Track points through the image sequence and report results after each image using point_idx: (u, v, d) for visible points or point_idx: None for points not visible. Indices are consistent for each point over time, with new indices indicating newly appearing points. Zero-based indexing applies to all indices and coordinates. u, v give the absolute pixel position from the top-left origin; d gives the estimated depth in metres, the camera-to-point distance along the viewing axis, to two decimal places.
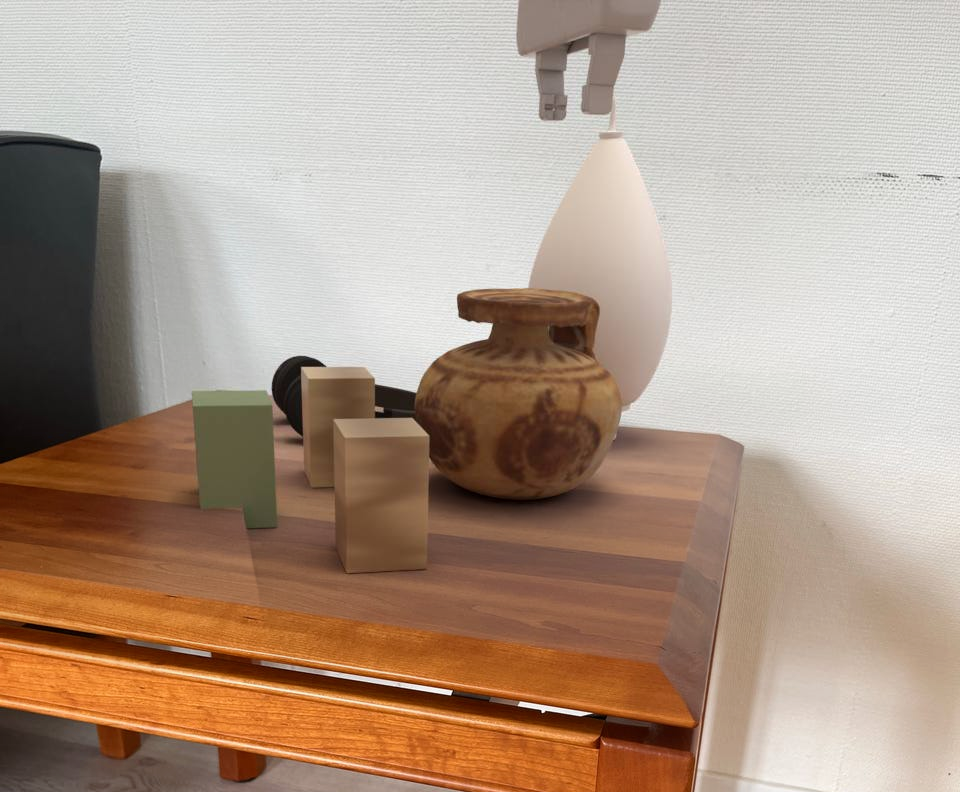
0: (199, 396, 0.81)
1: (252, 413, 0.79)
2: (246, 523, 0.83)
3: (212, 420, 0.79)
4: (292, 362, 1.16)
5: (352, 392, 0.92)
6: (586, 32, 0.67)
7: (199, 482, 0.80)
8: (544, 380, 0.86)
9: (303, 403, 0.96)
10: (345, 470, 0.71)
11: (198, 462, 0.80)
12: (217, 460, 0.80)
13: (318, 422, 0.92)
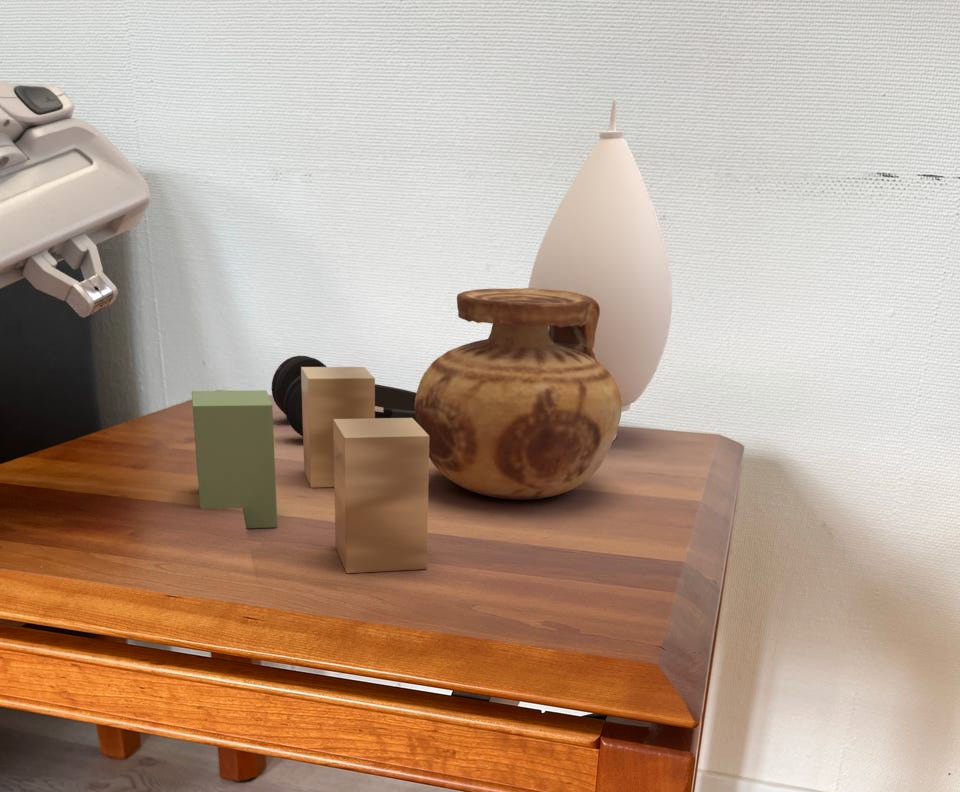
0: (199, 396, 0.81)
1: (252, 413, 0.79)
2: (246, 523, 0.83)
3: (212, 420, 0.79)
4: (292, 362, 1.16)
5: (352, 392, 0.92)
6: (119, 213, 0.75)
7: (199, 482, 0.80)
8: (544, 380, 0.86)
9: (303, 403, 0.96)
10: (345, 470, 0.71)
11: (198, 462, 0.80)
12: (217, 460, 0.80)
13: (318, 422, 0.92)
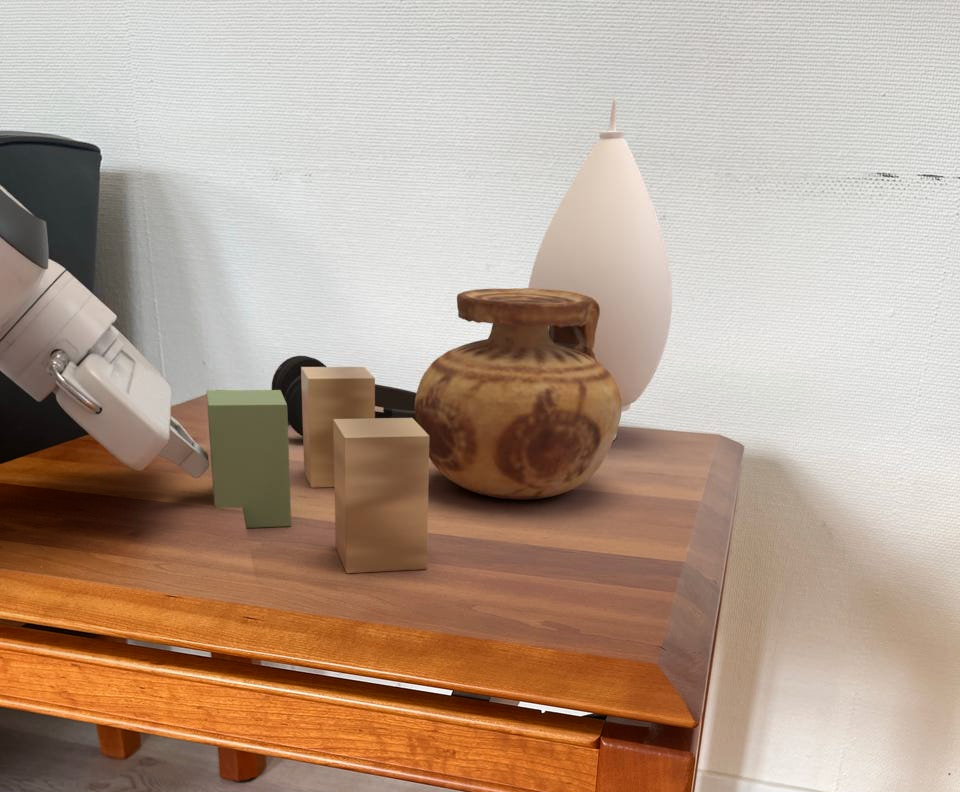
0: (214, 395, 0.82)
1: (267, 413, 0.80)
2: (260, 522, 0.83)
3: (227, 419, 0.79)
4: (292, 362, 1.16)
5: (352, 392, 0.92)
6: None
7: (214, 481, 0.81)
8: (544, 380, 0.86)
9: (303, 403, 0.96)
10: (345, 470, 0.71)
11: (213, 461, 0.80)
12: (231, 459, 0.80)
13: (318, 422, 0.92)
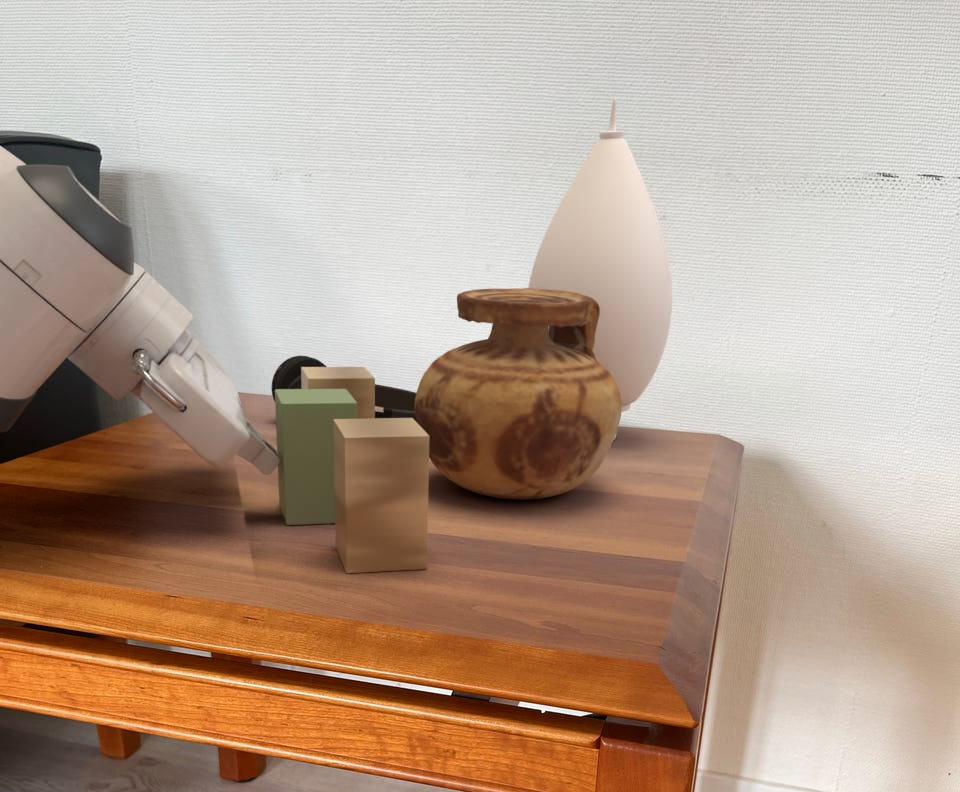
0: (284, 394, 0.83)
1: (338, 411, 0.81)
2: (328, 518, 0.85)
3: (299, 417, 0.81)
4: (292, 362, 1.16)
5: (352, 392, 0.92)
6: None
7: (285, 478, 0.82)
8: (544, 380, 0.86)
9: None
10: (345, 470, 0.71)
11: (285, 458, 0.82)
12: (302, 456, 0.82)
13: None
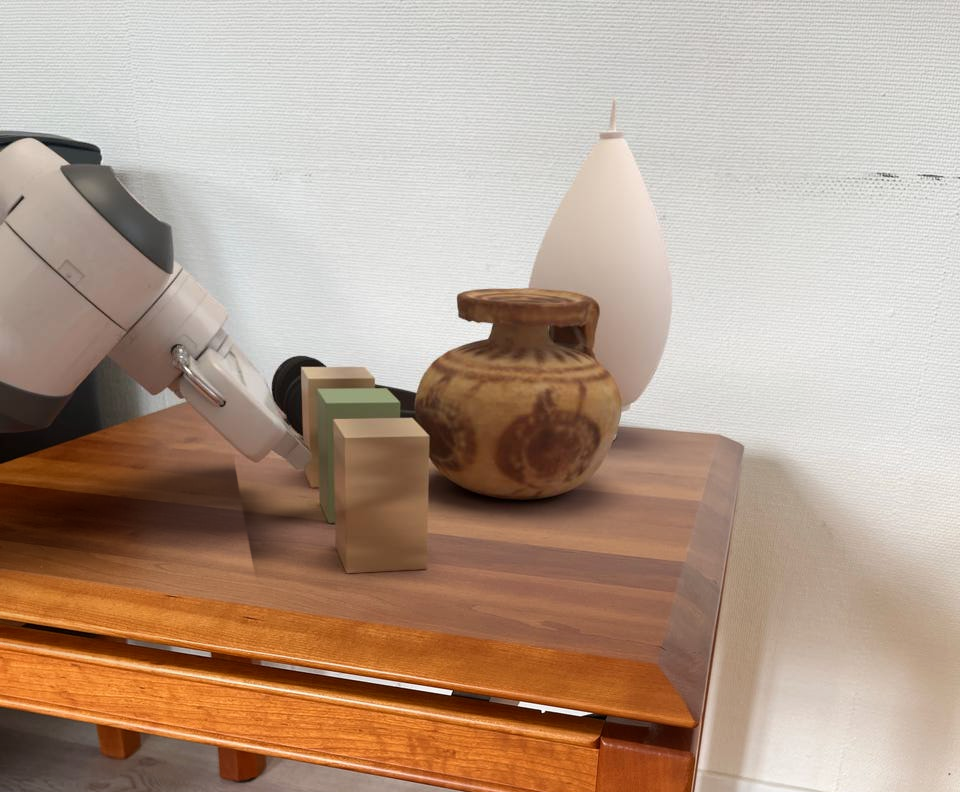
0: (327, 394, 0.84)
1: (381, 410, 0.82)
2: None
3: (343, 416, 0.82)
4: (292, 362, 1.16)
5: None
6: None
7: (328, 476, 0.83)
8: (544, 380, 0.86)
9: (303, 403, 0.96)
10: (345, 470, 0.71)
11: (328, 457, 0.83)
12: None
13: None
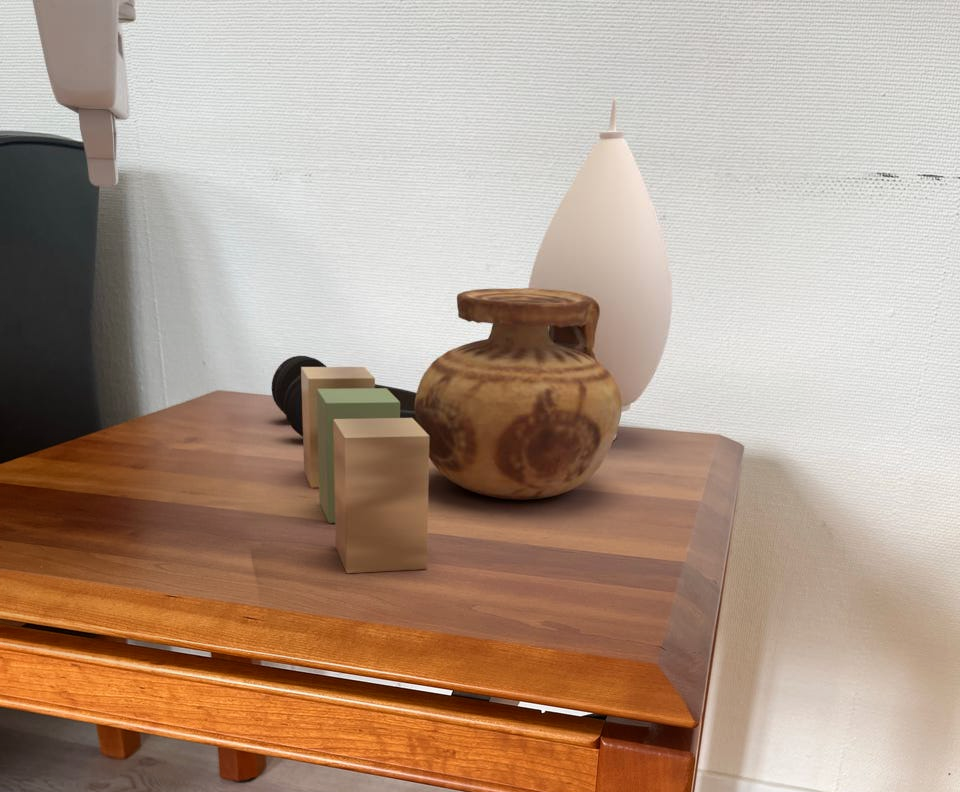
0: (327, 394, 0.84)
1: (381, 410, 0.82)
2: None
3: (343, 416, 0.82)
4: (292, 362, 1.16)
5: None
6: None
7: (328, 476, 0.83)
8: (544, 380, 0.86)
9: (303, 403, 0.96)
10: (345, 470, 0.71)
11: (328, 457, 0.83)
12: None
13: None
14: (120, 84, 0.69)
